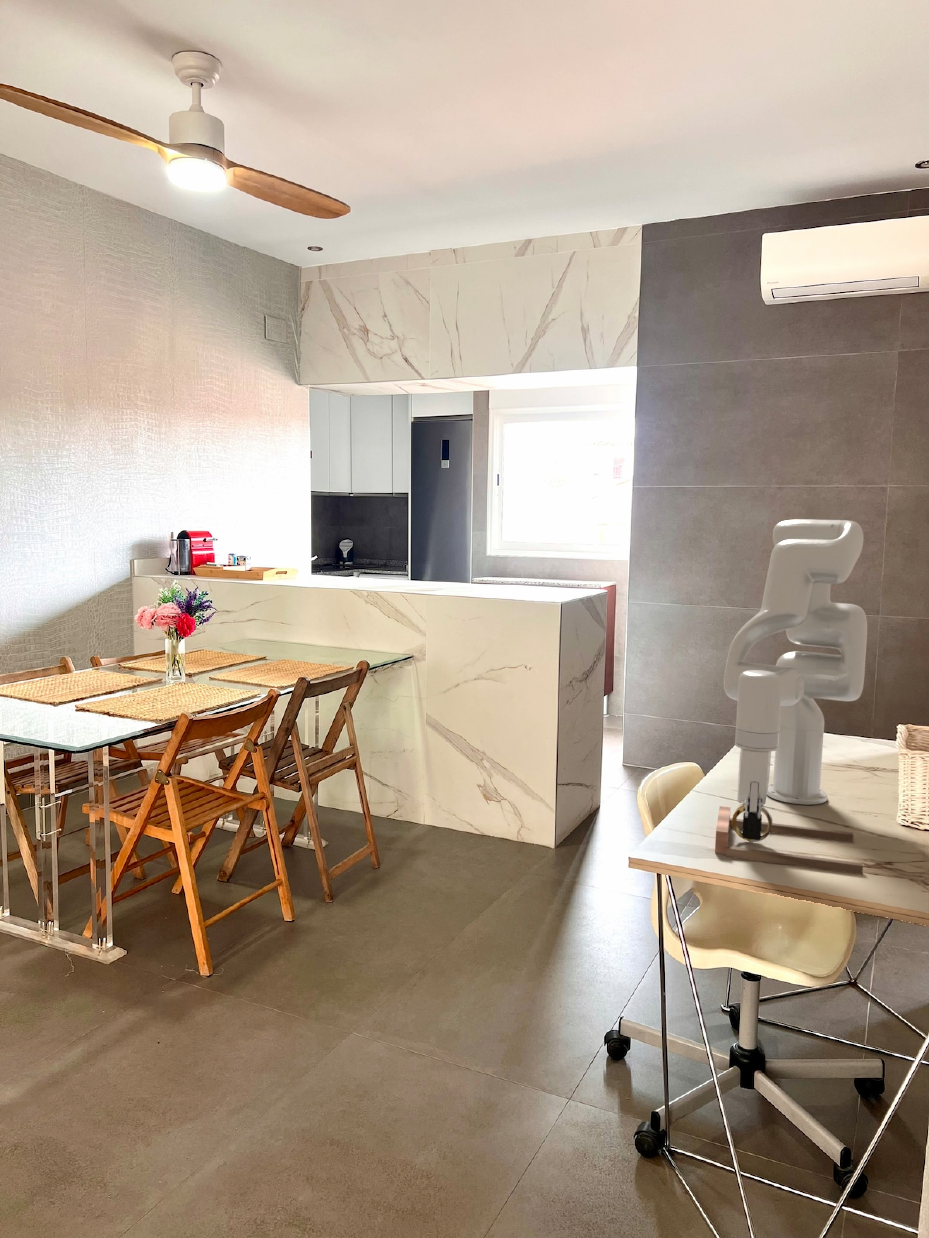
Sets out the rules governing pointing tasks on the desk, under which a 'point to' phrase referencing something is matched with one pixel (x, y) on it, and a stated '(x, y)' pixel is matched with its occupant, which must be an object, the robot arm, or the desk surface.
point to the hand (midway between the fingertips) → (751, 835)
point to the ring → (741, 809)
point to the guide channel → (782, 858)
